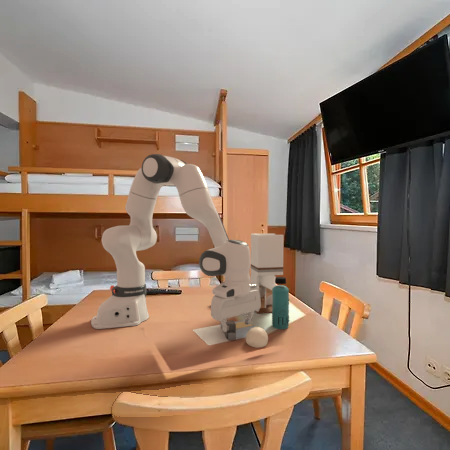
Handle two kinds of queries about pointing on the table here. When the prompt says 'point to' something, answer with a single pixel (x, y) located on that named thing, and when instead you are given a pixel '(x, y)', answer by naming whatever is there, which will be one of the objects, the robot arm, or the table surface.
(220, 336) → the door board
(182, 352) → the table surface
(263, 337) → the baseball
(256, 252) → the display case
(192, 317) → the table surface
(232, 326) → the latch bar
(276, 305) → the beverage bottle
